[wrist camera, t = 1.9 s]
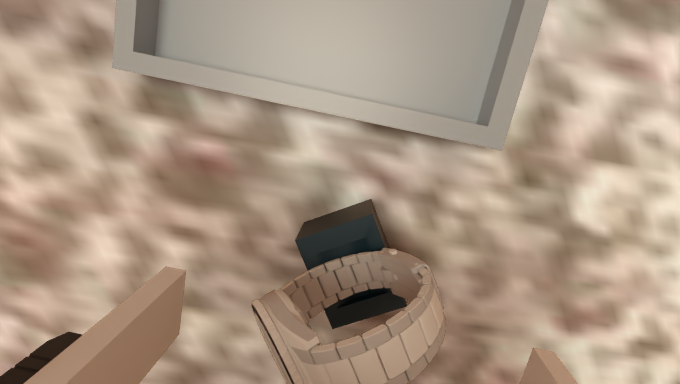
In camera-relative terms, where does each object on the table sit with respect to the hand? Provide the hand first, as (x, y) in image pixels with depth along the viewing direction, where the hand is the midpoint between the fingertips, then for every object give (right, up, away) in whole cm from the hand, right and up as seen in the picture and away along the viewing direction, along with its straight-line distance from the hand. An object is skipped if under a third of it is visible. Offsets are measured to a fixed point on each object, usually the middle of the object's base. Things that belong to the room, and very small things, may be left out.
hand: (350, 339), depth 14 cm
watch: (0, +2, +9) cm, 9 cm away
